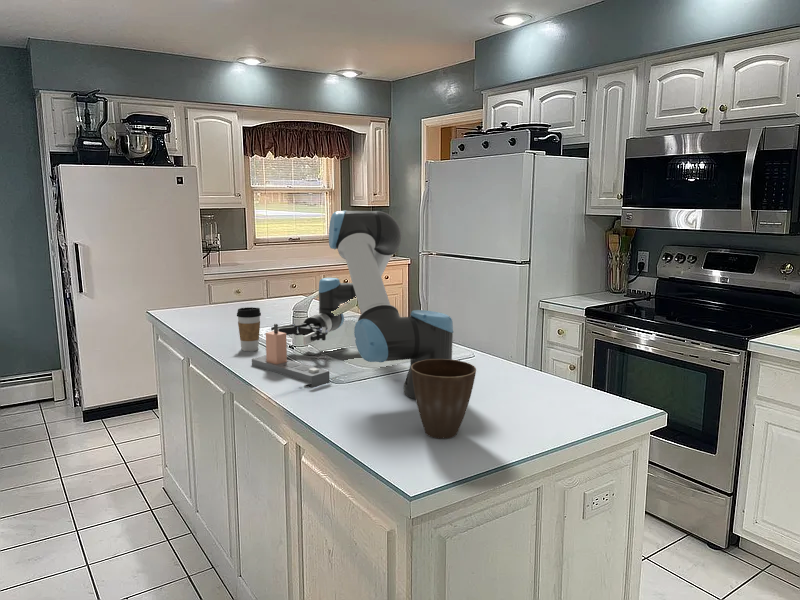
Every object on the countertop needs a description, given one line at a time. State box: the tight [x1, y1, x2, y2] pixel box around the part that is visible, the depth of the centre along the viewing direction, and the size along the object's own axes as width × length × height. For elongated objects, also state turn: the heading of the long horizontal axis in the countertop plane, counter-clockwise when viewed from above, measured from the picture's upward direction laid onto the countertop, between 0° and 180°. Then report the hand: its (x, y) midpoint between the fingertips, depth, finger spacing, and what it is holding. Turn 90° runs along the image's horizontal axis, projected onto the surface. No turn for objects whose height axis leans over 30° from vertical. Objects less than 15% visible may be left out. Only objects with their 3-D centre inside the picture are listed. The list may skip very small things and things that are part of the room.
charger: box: [265, 323, 288, 365], centre depth 190 cm, size 5×4×14 cm
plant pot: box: [411, 359, 477, 440], centre depth 142 cm, size 15×15×16 cm
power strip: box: [251, 355, 330, 389], centre depth 187 cm, size 28×7×4 cm, turn 50°
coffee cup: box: [236, 306, 262, 352], centre depth 218 cm, size 8×8×15 cm
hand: (285, 338), depth 195 cm, fingers open, 13 cm apart
